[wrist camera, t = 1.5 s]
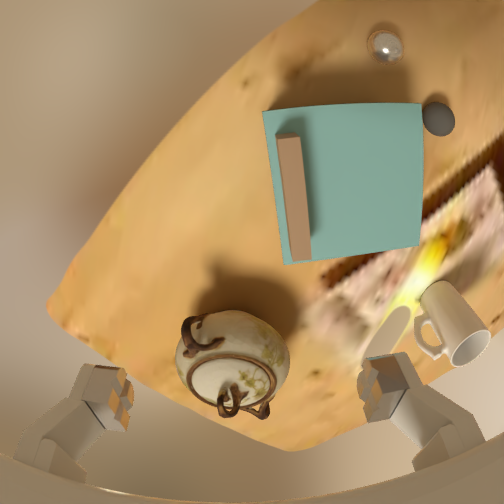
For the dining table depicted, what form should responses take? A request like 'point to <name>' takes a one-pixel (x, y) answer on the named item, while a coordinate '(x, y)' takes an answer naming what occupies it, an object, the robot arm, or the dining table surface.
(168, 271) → the dining table surface
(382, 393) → the robot arm
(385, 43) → the steel ball
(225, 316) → the sugar bowl
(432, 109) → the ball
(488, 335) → the mug
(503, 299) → the dining table surface
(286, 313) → the dining table surface
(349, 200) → the lid
